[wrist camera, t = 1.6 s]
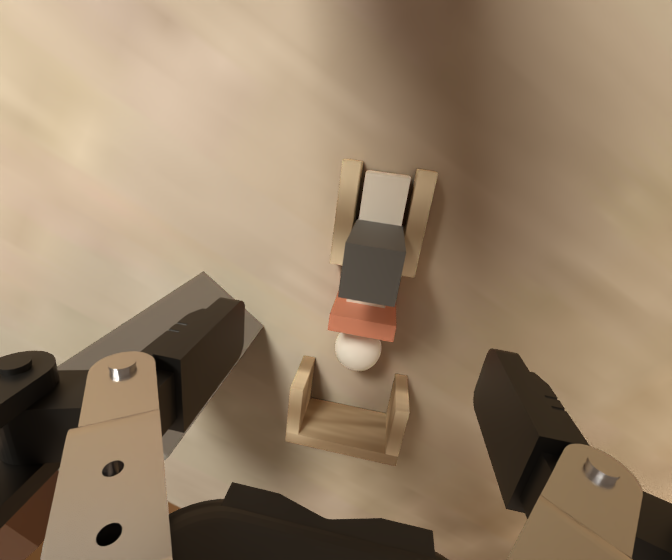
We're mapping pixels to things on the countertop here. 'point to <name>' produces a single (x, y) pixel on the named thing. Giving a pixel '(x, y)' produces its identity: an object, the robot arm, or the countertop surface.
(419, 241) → the rail guide
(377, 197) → the gray block
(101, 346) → the perfume bottle
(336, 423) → the box
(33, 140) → the countertop surface
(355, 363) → the ball
